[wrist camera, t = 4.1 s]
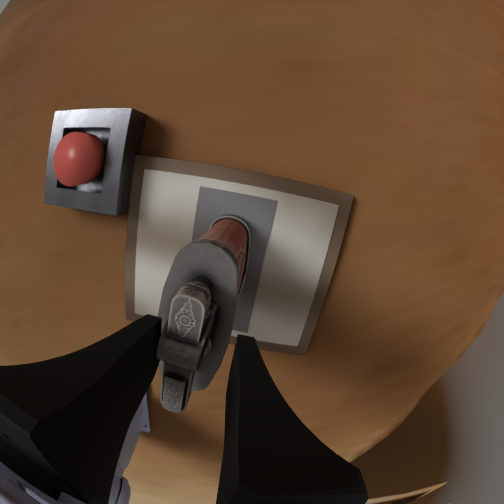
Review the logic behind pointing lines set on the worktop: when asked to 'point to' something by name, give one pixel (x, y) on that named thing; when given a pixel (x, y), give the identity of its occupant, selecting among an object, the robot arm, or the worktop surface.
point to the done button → (78, 158)
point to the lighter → (201, 308)
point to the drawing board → (262, 242)
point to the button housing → (115, 165)
